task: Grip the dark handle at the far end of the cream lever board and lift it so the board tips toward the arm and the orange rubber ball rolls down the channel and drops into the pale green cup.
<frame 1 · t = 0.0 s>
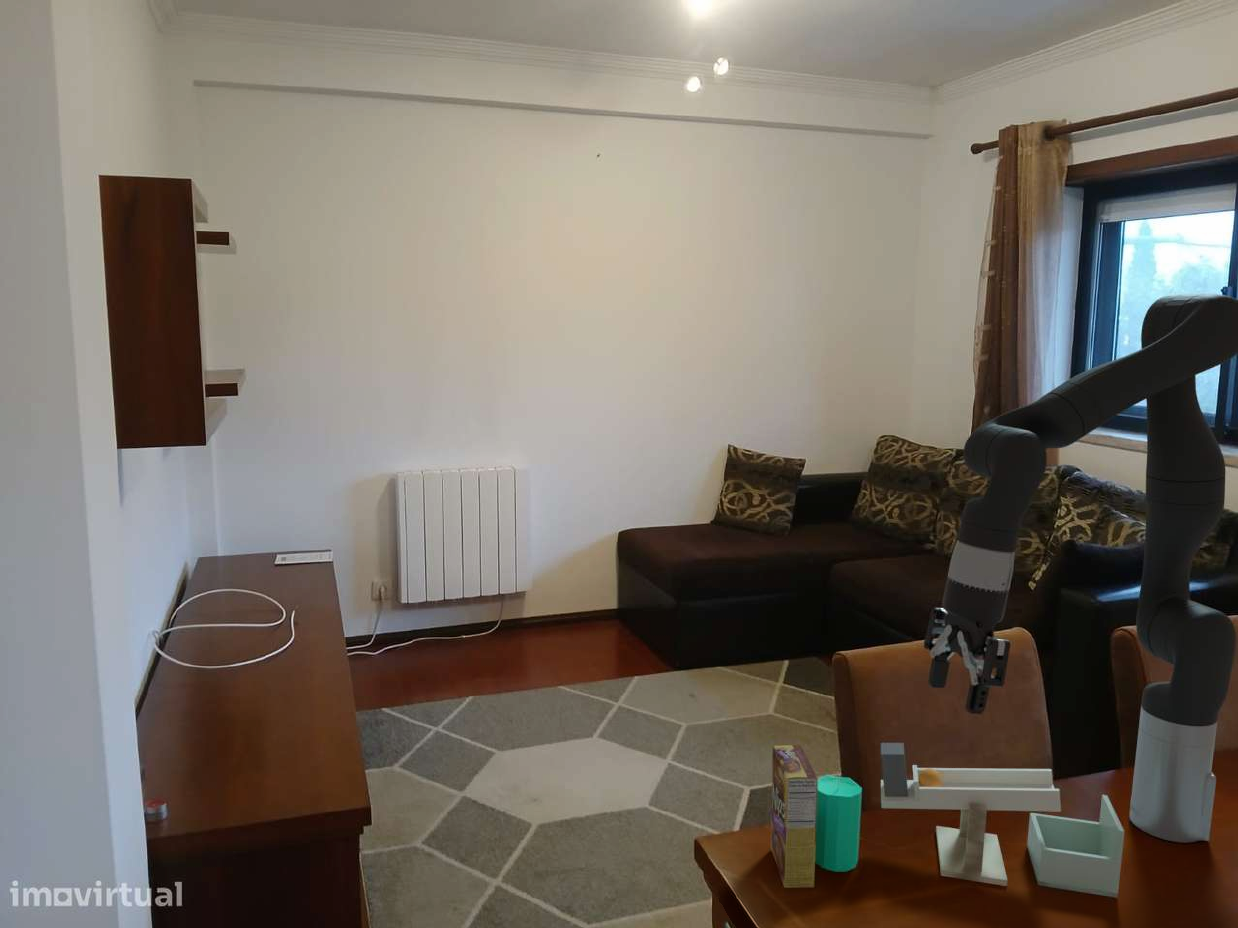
hand: (954, 699, 121), 22 cm above the table, tool pointing down, fingers open, 8 cm apart
candy box: (790, 869, 121), on the table
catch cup: (1070, 870, 122), on the table
candle: (834, 859, 124), on the table
lever board: (965, 776, 123), point 11 cm above the table, hinge at 8.0°, touching ball
lever stand: (969, 857, 125), on the table
ball: (930, 780, 124), point 10 cm above the table, tilted 21°, touching lever board
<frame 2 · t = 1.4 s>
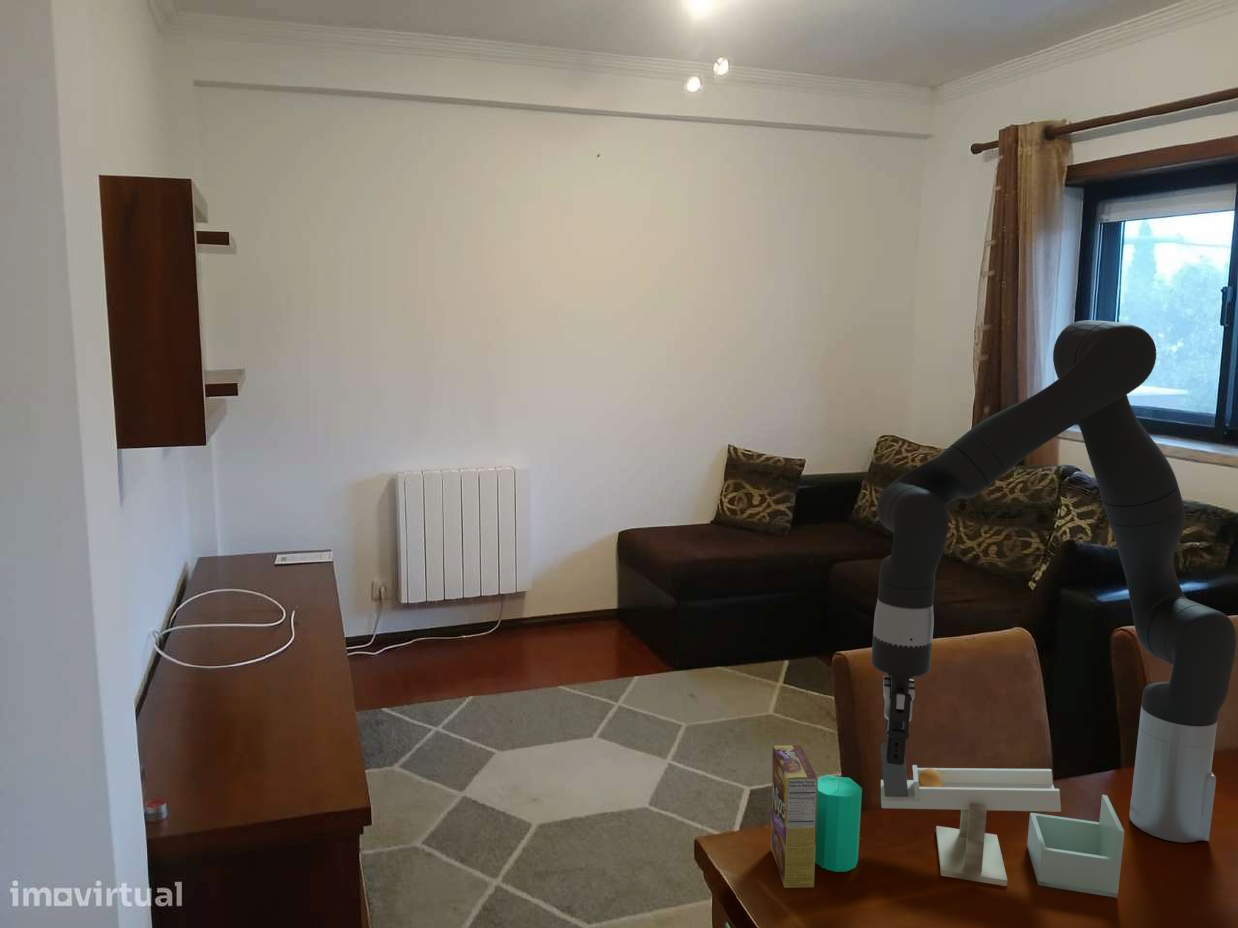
hand: (894, 748, 125), 14 cm above the table, tool pointing down, fingers open, 8 cm apart
nothing on the table moved.
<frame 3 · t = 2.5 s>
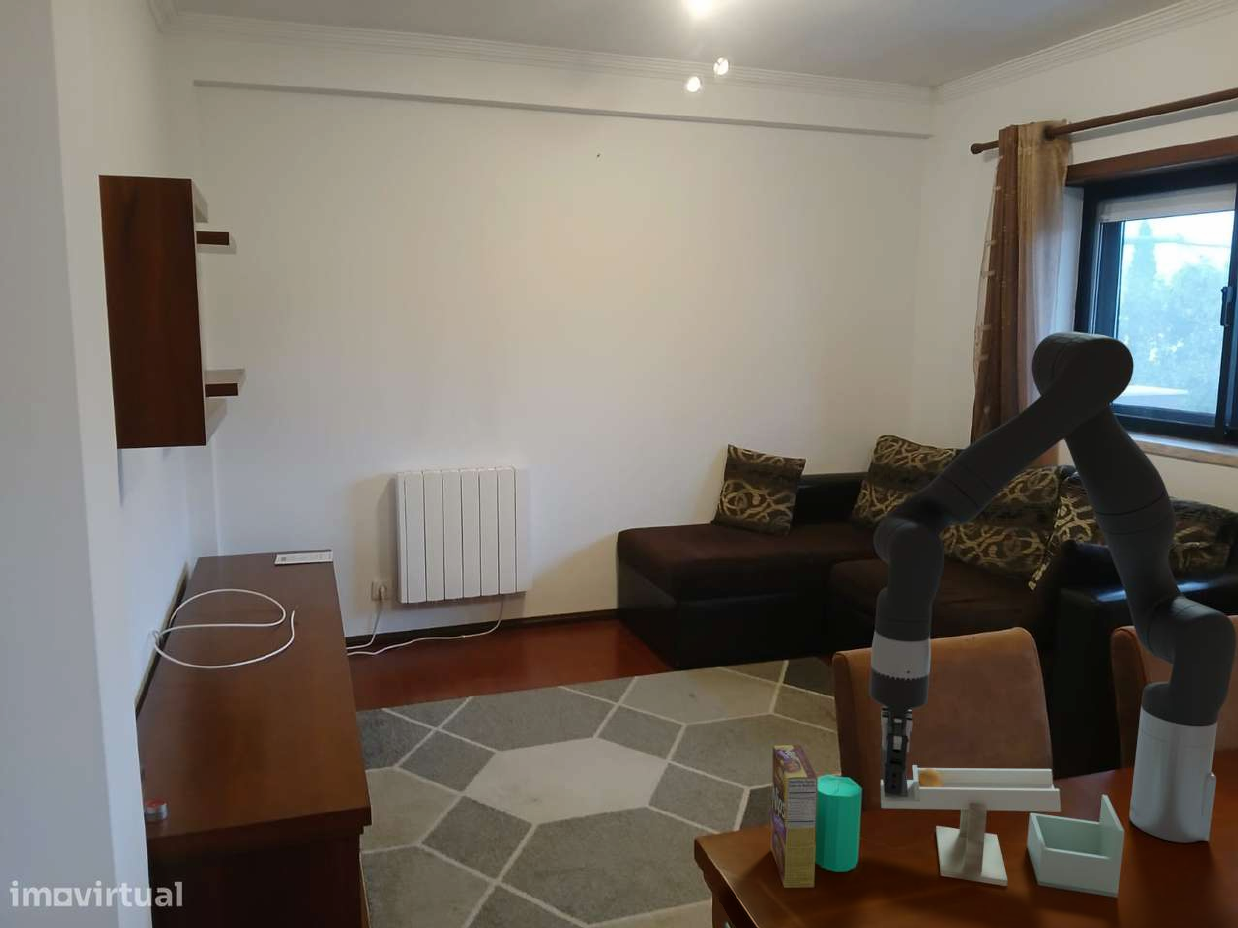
hand: (892, 784, 126), 9 cm above the table, tool pointing down, fingers closed on lever board, 3 cm apart
lever board: (965, 776, 123), point 11 cm above the table, hinge at 8.0°, touching ball, gripper
everything else where it was.
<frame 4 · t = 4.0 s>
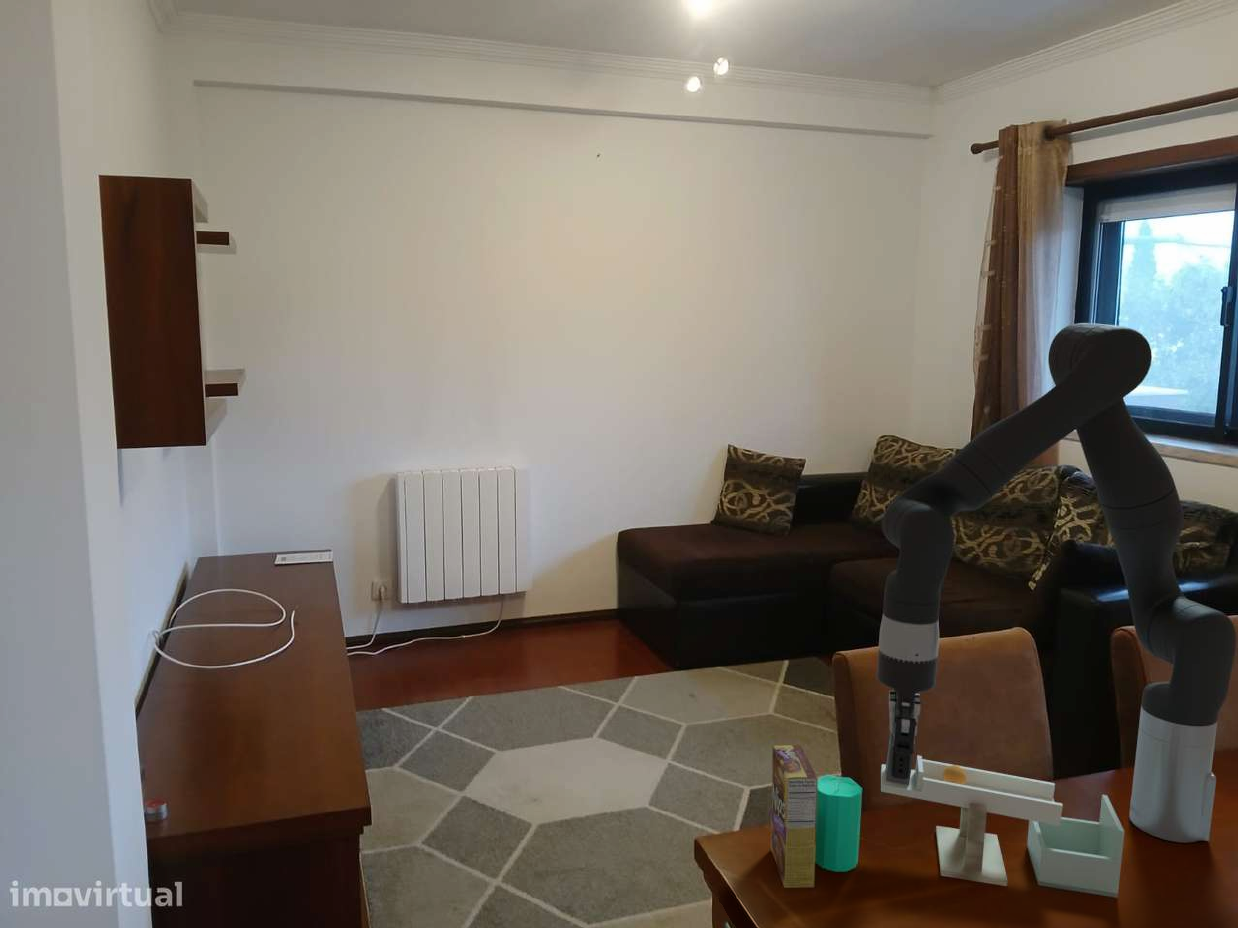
hand: (899, 769, 125), 11 cm above the table, tool pointing down, fingers closed on lever board, 3 cm apart
lever board: (969, 775, 123), point 12 cm above the table, hinge at -3.3°, touching ball, gripper
ball: (954, 776, 123), point 11 cm above the table, tilted 95°, touching lever board
everything else where it was.
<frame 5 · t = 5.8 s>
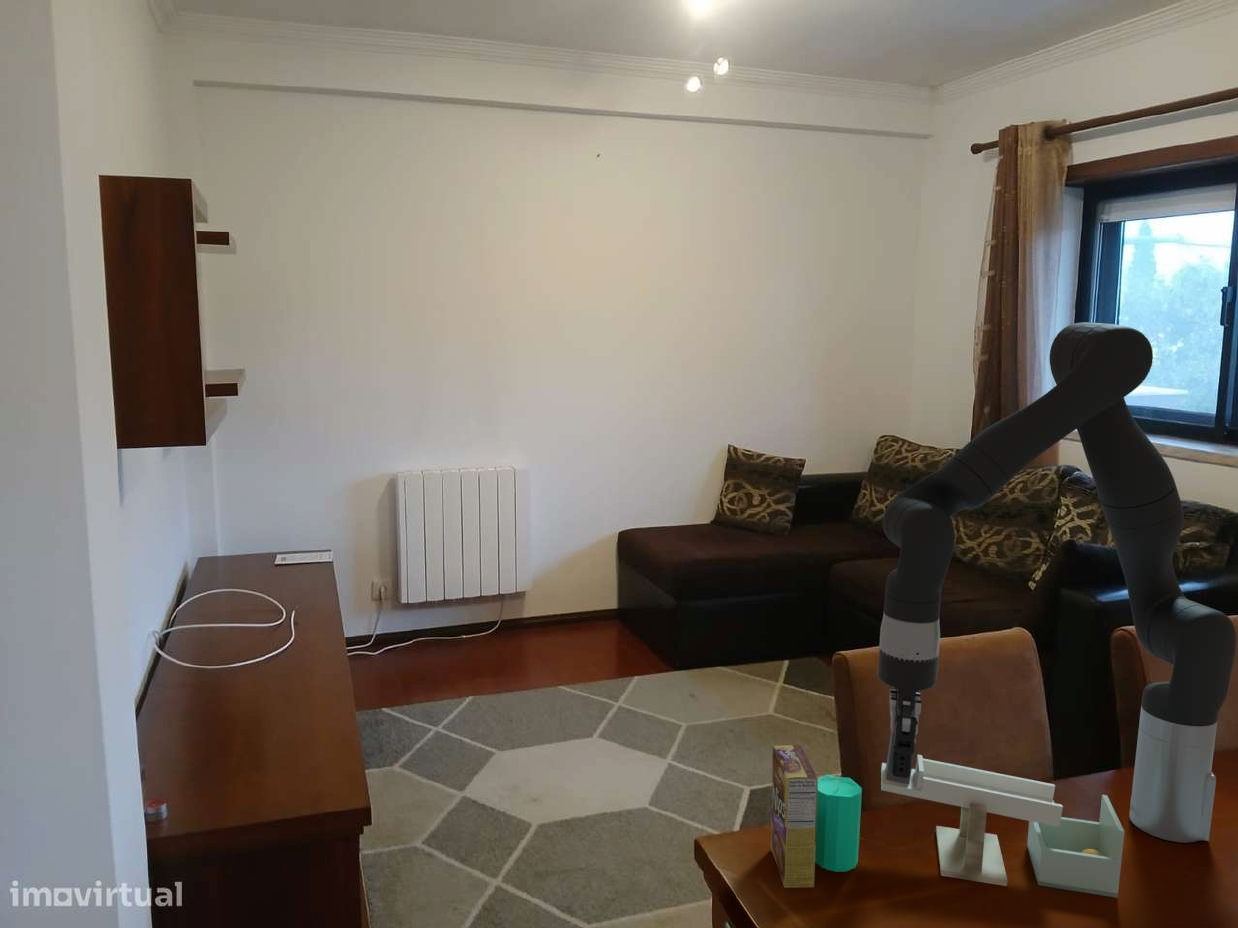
hand: (900, 768, 125), 11 cm above the table, tool pointing down, fingers closed on lever board, 3 cm apart
lever board: (969, 775, 123), point 12 cm above the table, hinge at -4.2°, touching gripper
ball: (1091, 861, 120), point 2 cm above the table, tilted 127°, touching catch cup
everything else where it was.
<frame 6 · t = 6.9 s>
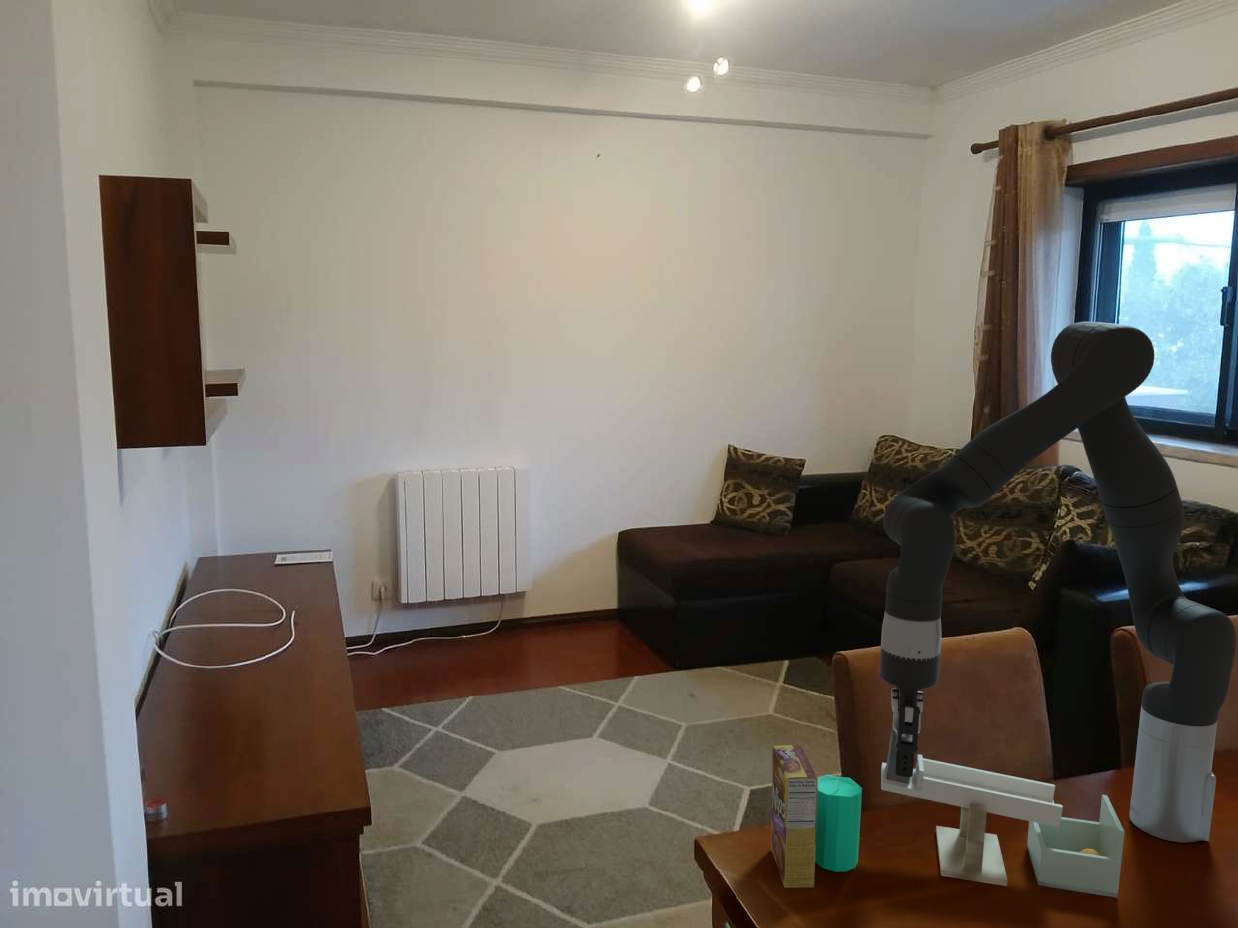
hand: (902, 760, 125), 12 cm above the table, tool pointing down, fingers open, 8 cm apart
lever board: (969, 774, 123), point 12 cm above the table, hinge at -4.5°
ball: (1090, 860, 120), point 2 cm above the table, tilted 120°, touching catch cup
everything else where it was.
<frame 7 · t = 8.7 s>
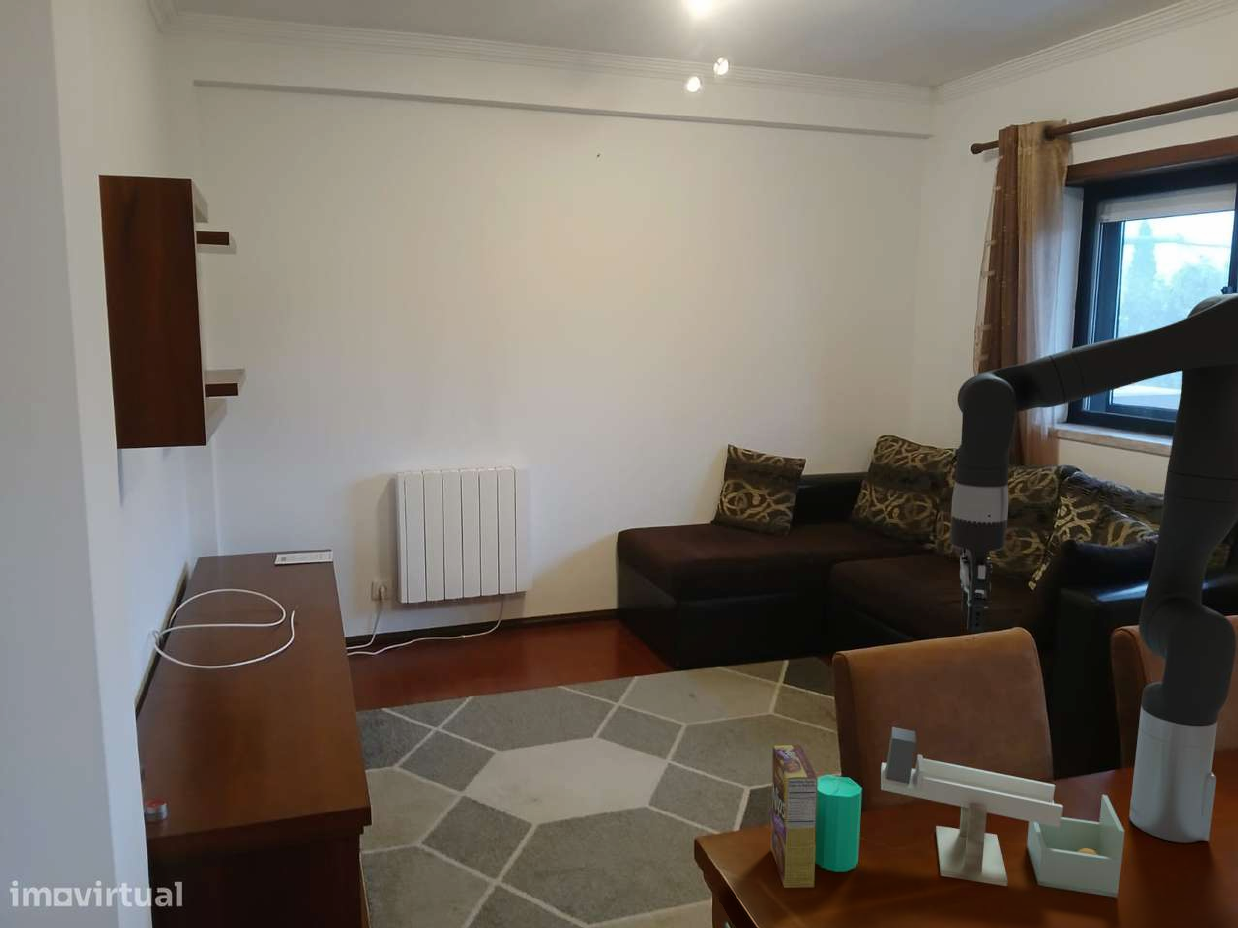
hand: (972, 622, 135), 28 cm above the table, tool pointing down, fingers open, 8 cm apart
ball: (1088, 860, 120), point 2 cm above the table, tilted 109°, touching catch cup
everything else where it was.
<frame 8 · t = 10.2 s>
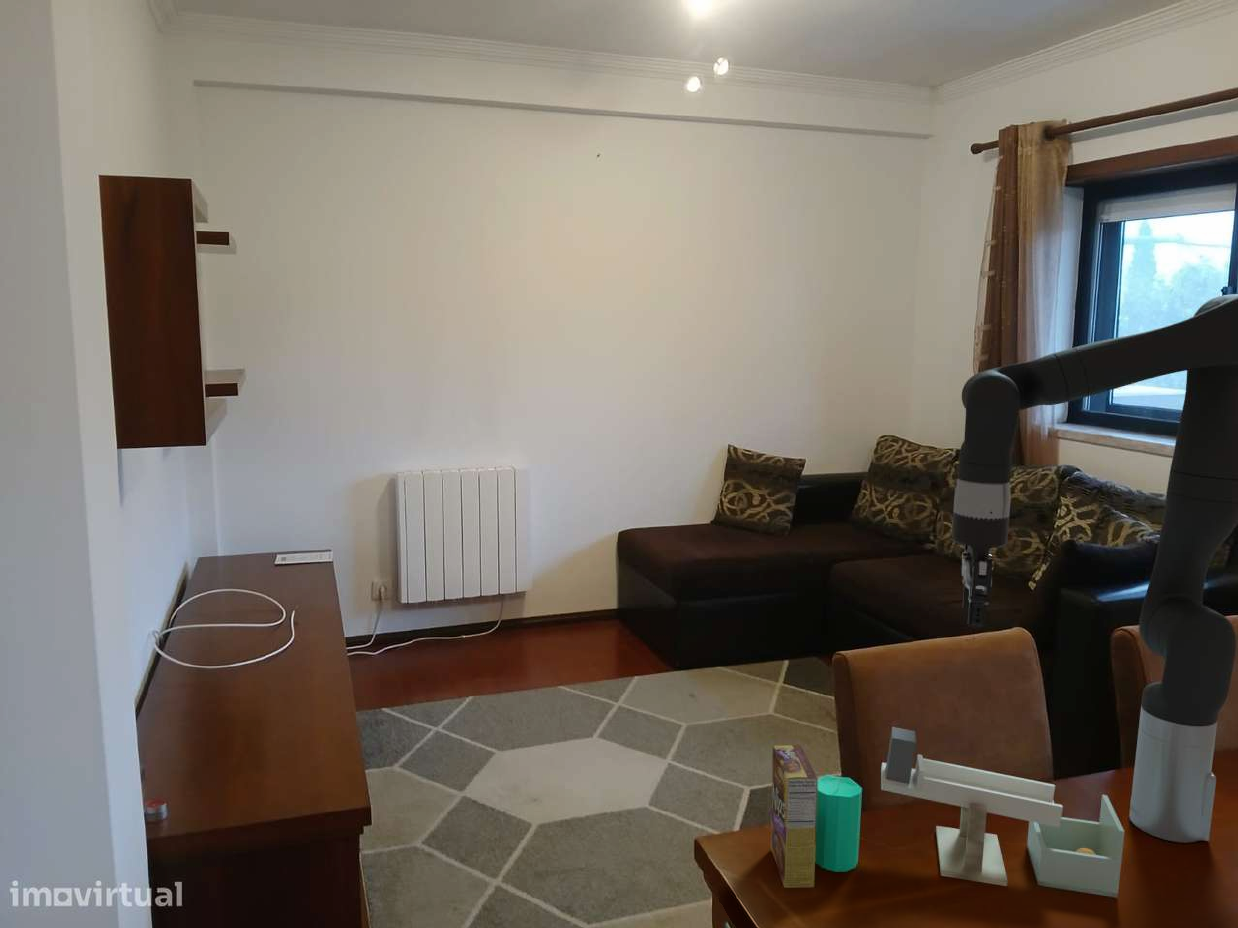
hand: (972, 618, 136), 28 cm above the table, tool pointing down, fingers open, 8 cm apart
ball: (1086, 860, 121), point 2 cm above the table, tilted 100°, touching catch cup
everything else where it was.
at the end: ball inside the target area on the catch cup (1.7 cm from its centre), point 2.1 cm above the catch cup's base; ball moved 21.1 cm from its start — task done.
